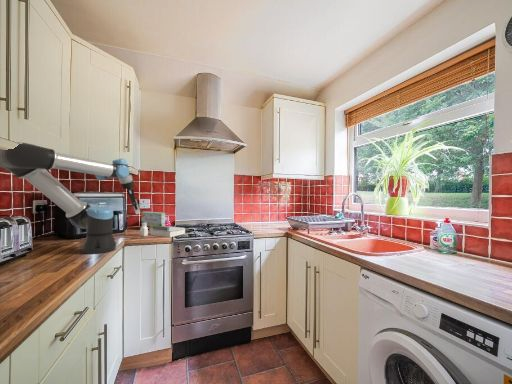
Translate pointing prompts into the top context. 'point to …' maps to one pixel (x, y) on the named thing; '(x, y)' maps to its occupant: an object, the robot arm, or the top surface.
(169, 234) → the mailer box
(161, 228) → the mailer lid
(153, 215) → the snack box
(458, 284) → the top surface
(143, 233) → the pepper shaker
